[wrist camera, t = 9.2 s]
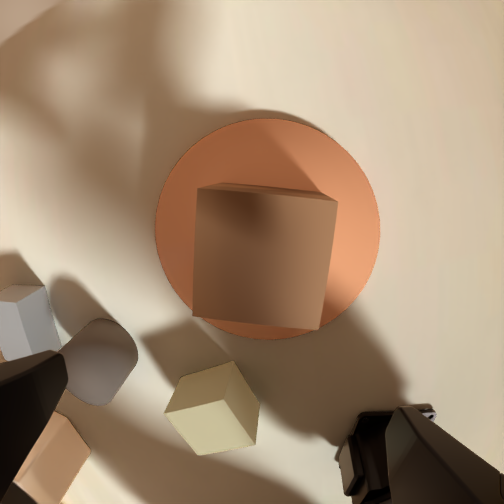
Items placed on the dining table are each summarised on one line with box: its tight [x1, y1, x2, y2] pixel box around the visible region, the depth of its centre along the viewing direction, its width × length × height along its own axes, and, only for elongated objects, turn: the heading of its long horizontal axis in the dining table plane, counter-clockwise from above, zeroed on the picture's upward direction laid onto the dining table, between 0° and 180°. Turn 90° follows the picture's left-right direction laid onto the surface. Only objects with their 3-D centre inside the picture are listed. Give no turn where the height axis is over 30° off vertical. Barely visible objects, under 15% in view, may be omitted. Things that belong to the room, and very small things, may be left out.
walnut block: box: [192, 183, 338, 330], centre depth 14 cm, size 5×5×5 cm
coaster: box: [155, 119, 380, 340], centre depth 17 cm, size 12×12×1 cm
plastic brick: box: [0, 285, 62, 361], centre depth 19 cm, size 4×5×4 cm
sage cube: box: [164, 361, 260, 456], centre depth 19 cm, size 4×4×4 cm
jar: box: [1, 411, 91, 504], centre depth 18 cm, size 9×8×12 cm
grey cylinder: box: [58, 319, 138, 406], centre depth 19 cm, size 4×4×4 cm
